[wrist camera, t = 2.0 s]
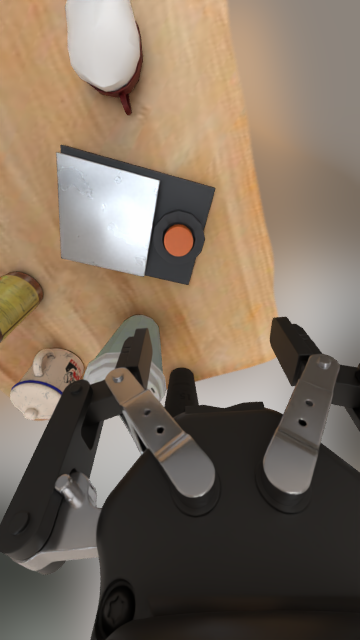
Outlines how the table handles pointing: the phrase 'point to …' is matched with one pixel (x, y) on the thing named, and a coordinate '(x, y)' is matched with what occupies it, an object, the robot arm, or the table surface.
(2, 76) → the table surface
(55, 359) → the teacup with lid
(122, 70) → the cocoa
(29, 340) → the table surface
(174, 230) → the power button
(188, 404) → the drinking cup
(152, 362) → the disposable coffee cup
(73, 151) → the scale
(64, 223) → the weighing plate
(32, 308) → the sauce bottle
